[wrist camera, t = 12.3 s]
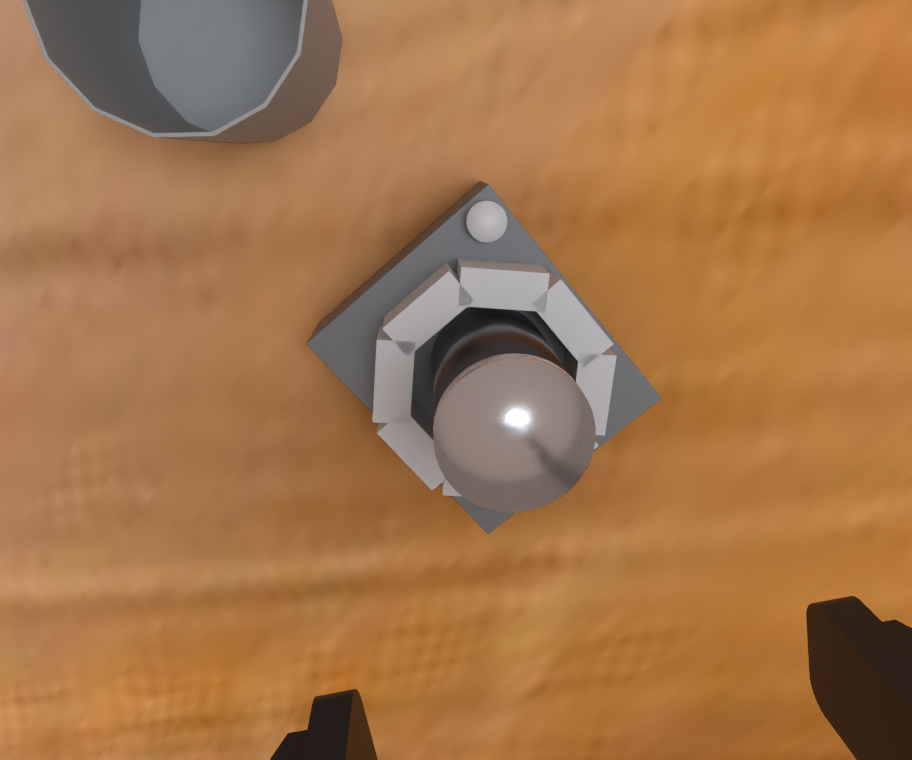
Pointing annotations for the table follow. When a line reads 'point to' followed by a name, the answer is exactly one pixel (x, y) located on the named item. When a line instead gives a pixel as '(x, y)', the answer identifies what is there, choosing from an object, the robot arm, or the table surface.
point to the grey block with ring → (440, 300)
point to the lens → (506, 412)
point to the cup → (195, 62)
